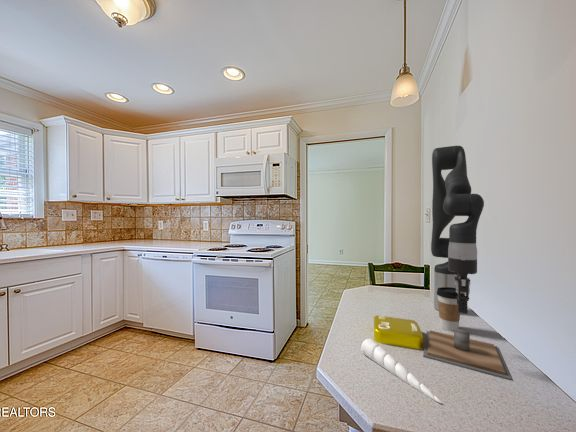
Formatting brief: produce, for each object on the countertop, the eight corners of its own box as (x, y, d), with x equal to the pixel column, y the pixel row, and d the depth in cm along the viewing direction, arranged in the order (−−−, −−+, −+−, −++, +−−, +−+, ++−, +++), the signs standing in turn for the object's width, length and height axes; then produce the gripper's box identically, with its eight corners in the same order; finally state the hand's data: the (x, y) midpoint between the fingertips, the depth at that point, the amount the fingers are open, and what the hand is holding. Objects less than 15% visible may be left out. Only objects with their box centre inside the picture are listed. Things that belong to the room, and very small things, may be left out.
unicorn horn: (429, 410, 54) (429, 387, 54) (359, 354, 76) (360, 338, 76) (444, 405, 56) (445, 383, 56) (372, 352, 78) (372, 336, 78)
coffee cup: (466, 334, 91) (467, 292, 91) (441, 331, 93) (441, 290, 93) (456, 324, 99) (456, 286, 100) (432, 322, 101) (433, 285, 101)
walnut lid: (429, 332, 91) (430, 316, 91) (493, 346, 81) (493, 328, 81) (427, 354, 75) (427, 335, 76) (505, 375, 66) (505, 353, 66)
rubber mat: (426, 332, 92) (426, 330, 92) (497, 347, 82) (497, 346, 82) (423, 356, 75) (423, 355, 75) (511, 380, 65) (511, 378, 65)
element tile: (424, 351, 79) (424, 336, 79) (373, 343, 84) (374, 328, 84) (416, 332, 93) (416, 319, 93) (373, 325, 98) (373, 313, 98)
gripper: (447, 253, 87) (447, 300, 86) (448, 258, 75) (448, 313, 74) (474, 255, 83) (474, 305, 82) (480, 260, 71) (479, 318, 70)
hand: (461, 308), depth 78 cm, fingers open, 8 cm apart
